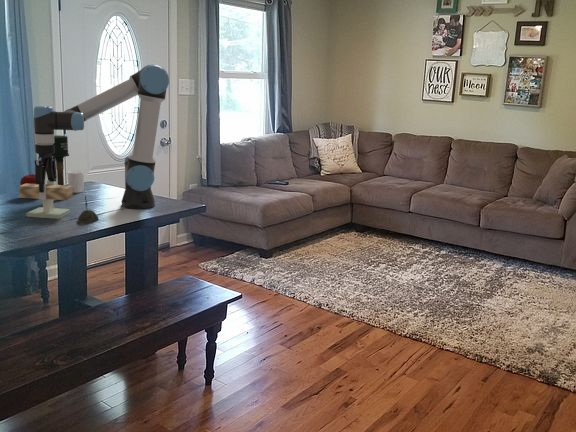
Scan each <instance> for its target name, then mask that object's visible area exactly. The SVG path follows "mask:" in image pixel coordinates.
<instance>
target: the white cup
mask: <svg viewBox="0 0 576 432" xmlns="http://www.w3.org/2000/svg"><path fill="white" fill-rule="evenodd" d="M66 175H67V182H68V183H67V184H68V186H72V194H79V193H83V192H84V186H85V171H82V170H70V171H67V174H66Z"/></svg>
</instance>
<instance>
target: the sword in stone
mask: <svg viewBox="0 0 576 432" xmlns="http://www.w3.org/2000/svg"><path fill="white" fill-rule="evenodd" d="M84 198H85V199H84V200H85V205H84V206H85V208H86V209H85V210H83V211H82V212H81V213H80V214H79V216H78V218H77V224H79V223H81V224H83V225H87V224H88V225H89V224H91V225H92V224H94V222H97V221H99V216H98V215H97V214H96V212H95V211H94V210H91V209H88V202H87V195H85V196H84ZM81 224H80V225H81Z"/></svg>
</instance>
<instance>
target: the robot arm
mask: <svg viewBox="0 0 576 432" xmlns="http://www.w3.org/2000/svg"><path fill="white" fill-rule="evenodd" d="M169 85H170V78H169V74H168V72H167V71H166V69H165V68H164V67H162V66H160V65H157V64H148V65H145V66H144V67H141V69H140V70H138V71H137V72H135V73H134V74H131V75H130V76H129V78H128V79H127V80H125V81H122V82H121V83H118V84H117V85H115V86H113V87H111V88H108V89H107V90H105V91H103V92H100V93H99V94H96V95H94V96H93V97H91V98H89V99H87V100H85V101H83V102H81V103H79V104H77V105H74V106H73V107H70V108H67V109H66V110H64V111H55V110H54V107H53V106H49V105H36V106H35V107H33V127H34V128H33V129H34V142H35V144H34V149H35V153H36V154H37V155H38V158H37V160H36V159H34V167H35V169H34V171H35V173H34V175H35V183H36V184H37V185H39V199H38V200H40V201H43V200H46V185H44V184H45V183H46V184H47V185H55V182H57V179H58V178H57V168H56V157H55V156H52V154H53V153H55V145H54V144H53V143H55V142H54V136H55V130H56V131H58V130H59V131H74V132H77V131H83V130H84V129H85V122H86V121H88V120H90V119H92V118H94V117H96V116H99V115H101V114H102V113H105V112H106V111H108V110H111V109H112V108H114V107H116V106H119V105H120V104H122V103H124V102H126V101H128V100H130V99H133V98H134V97H136V96H138V97H139V98H140V100H139V101H140V102H139V107H138V108H139V109H138V114H137V121H136V129H135V135H134V142H133V151H132V153H131V154H130V156H126V157H125V158H124V184H125V185H124V186H125V188H124V193H123V196H122V199H121V206H122V207H123V208H125V209H132V210H133V209H135V210H142V209H143V210H145V209H150V208H153V207H156V200H155V197H154V194H153V191H152V186H153V184H154V182H155V169H156V168H155V167H156V162H157V161H156V160H155V159H154V150H155V145H156V144H155V143H156V137H157V131H158V125H159V119H160V118H159V117H160V110H161V104H162V102H164V101H165V100H166V95H167V90H168V87H169ZM46 176H47V182H46Z"/></svg>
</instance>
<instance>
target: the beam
mask: <svg viewBox="0 0 576 432" xmlns="http://www.w3.org/2000/svg"><path fill="white" fill-rule="evenodd" d="M44 185H46V199H53V201H55V200H56V201H68V200H70V199H73V197H74V196H73V193H72V186H69V185H65V184H64V185H58V184H54V185H47V183H46V184H44ZM18 187H19V189H18V191H19V198H22V199H37V200H39V185H37V184H27V183H25V184H23V185H19V186H18Z"/></svg>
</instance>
